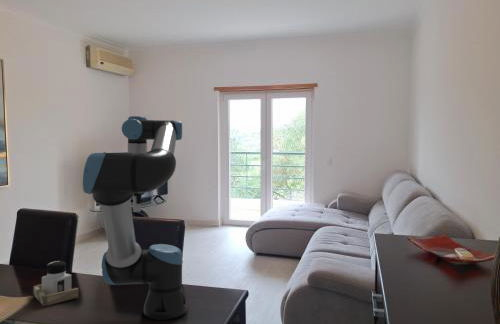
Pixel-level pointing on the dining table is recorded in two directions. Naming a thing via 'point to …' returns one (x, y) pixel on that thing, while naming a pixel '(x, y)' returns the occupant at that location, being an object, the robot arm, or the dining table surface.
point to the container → (56, 278)
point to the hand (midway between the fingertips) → (137, 211)
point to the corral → (53, 295)
